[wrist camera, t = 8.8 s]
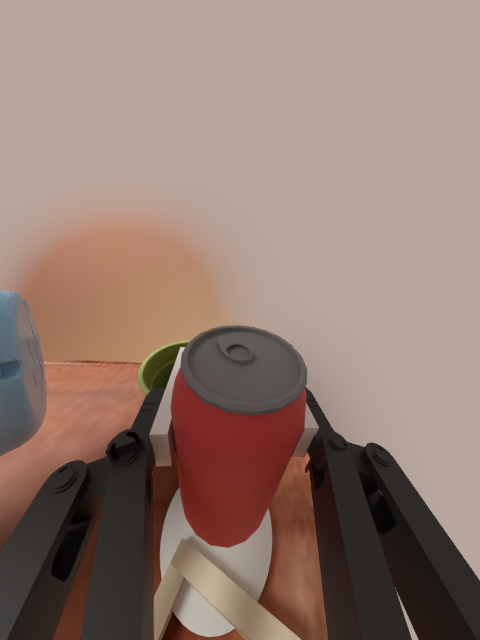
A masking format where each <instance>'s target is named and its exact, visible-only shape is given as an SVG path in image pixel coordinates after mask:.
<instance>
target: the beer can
mask: <svg viewBox="0 0 480 640" xmlns="http://www.w3.org/2000/svg"><path fill="white" fill-rule="evenodd" d="M306 383H307V368H306V366H305V363H304V361H303V358H302V357H301V355H300V354H299V353H298V352H297V351H296V350H295V349H294V348H293V346H292V345H291V344H289V343H288V342H287V341H285V340H284V339H282V338H281V337H279V336H277V335H275V334H272V333H270V332H268V331H265V330H261V329H258V328H254V327H247V326H222V327H217V328H213V329H210V330H208V331H205V332H203V333H200V334H199V335H198V336H196V337H195V338H194V339H192V340H191V341H190V342H188V344H187V346H186V347H185V349H184V350H183V352H182V354H181V365H180V369H179V371H178V373H177V375H176V378H175V382H174V386H173V392H172V400H171V416H172V425H173V434H174V442H175V451H176V460H177V469H178V478H179V486H180V495H181V501H182V505H183V510H184V514H185V518H186V519H187V521H188V523H189V524H190V526H191V528H192V529H193V531H194V533H195V534H196V535H197V536H198V537H200V538H201V539H203V540H204V541H205V542H207V543H208V544H209V545H211V546H218V547H225V548H229V547H232V546H235V545H237V544H240V543H243V542H245V541H246V540H247V539H248V538H249V537H250V536H251V535H252V534H253V533H254V532H255V531H256V530H257V529H258V528H259V527H260V524H261V522H262V520H263V518H264V516H265V514H266V512H267V510H268V508H269V505H270V503H271V501H272V499H273V496H274V494H275V492H276V489H277V487H278V485H279V483H280V480H281V478H282V476H283V474H284V471H285V469H286V467H287V464H288V462H289V460H290V458H291V455H292V453H293V451H294V449H295V446H296V444H297V442H298V439H299V437H300V435H301V433H302V430H303V428H304V426H305V413H306V389H305V386H306Z"/></svg>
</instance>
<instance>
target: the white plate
mask: <svg viewBox="0 0 480 640" xmlns="http://www.w3.org/2000/svg"><path fill="white" fill-rule="evenodd" d="M182 538H183V539H184V540H185V541H187V542H188V543H189V544H190V545H191V546H192V547H194V548H195V549H196V550H197V551H198V552H199V553H201V554H202V555H203V556H204V557H205V558H206V559H208V560H209V561H210V562H211V563H212V564H213V565H215V566H216V567H217V568H218V569H219V570H220V571H222V572H223V573H224V574H225V575H226V576H228V577H229V578H230V579H231V580H232V581H233V582H235V583H236V584H237V585H238V586H239V587H240V588H242V589H243V590H244V591H245V592H246V593H247V594H249V595H250V596H251V597H252V598H253V599H254V600H256V601H258V599H259V597H260V595H261V593H262V590H263V588H264V585H265V582H266V579H267V576H268V572H269V567H270V562H271V553H272V525H271V518H270V513H269V508H268V510H267V512H266V514H265V516H264V518H263V520H262V522H261V524H260V527H259V528H258V529H257V530H256V531H255V532H254V533H253V534H252V535H251V536H250V537H249V538H248V539H247V540H246V541H245V542H243V543H240V544H237V545H235V546H232V547H229V548H225V547H218V546H211V545H209V544H208V543H207V542H205V541H204V540H203V539H201V538H200V537H198V536H197V535H196V534H195V533H194V531H193V529H192V528H191V526H190V524H189V523H188V521H187V519H186V518H185V514H184V510H183V505H182V501H181V495H180V487H179V488H178V490H177V492H176V493H175V495H174V497H173V499H172V501H171V504H170V506H169V508H168V511H167V514H166V518H165V521H164V525H163V530H162V536H161V545H160V569H161V577H162V579H163V577H164V575H165V573H166V570H167V568H168V566H169V564H170V562H171V560H172V558H173V556H174V554H175V552H176V550H177V547H178V545H179V543H180V541H181V539H182ZM173 612H174V614H175V616H176V617H177V618H178V619H179V621H180V622H181V623H182V624H183V625H184V626H185V627H186V628H187V629H188V630H190V631H191V632H193V633H195V634H197V635H199V636H204V637H218V636H221V635H224V634H227V633H228V632H230V631H232V630H233V629H235V627H234V626H233V625H231V624H230V623H229V622H228V621H227V620H226V619H225V618H224V617H223V616H222V615H221V614H220V613H219V612H218V611H217V610H216V609H215V608H214V607H212V606H211V605H210V604H209V603H208V602H207V601H206V600H205V599H204V598H203V597H202V596H201V595H200V594H199V593H198V592H197V591H196V590H195V589H194V588H192V587H191V586H190V585H189V584H188V583H187V582H186V581H185V580H184V583H183V585H182V588H181V590H180V593H179V595H178V597H177V600H176V602H175V605H174V607H173Z"/></svg>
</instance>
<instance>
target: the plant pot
mask: <svg viewBox="0 0 480 640" xmlns="http://www.w3.org/2000/svg"><path fill="white" fill-rule="evenodd" d="M190 341H191V340H190ZM190 341H189V340H188V341H179V342H176V343H172V344H168V345H166V346H163V347H161V348H159V349H158V350H156V351H154V352H153V353H152V354H150V355H149V356H148V357H147V358H146V359H145V360H144V362H143V363H142V365H141V367H140V369H139V372H138V382H139V386H140V388H141V390H142V391H143V392H144V393H145V394H146V395H147V394H148V393H149V392H150V391H151V390H152V389H153V388H166V387H167V384H168V381H169V378H170V375H171V373H172V370H173V367H174V364H175V361H176V359H177V356H178V353H179V350H180V347H186V346H187V344H188V342H190Z"/></svg>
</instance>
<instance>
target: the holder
mask: <svg viewBox="0 0 480 640" xmlns="http://www.w3.org/2000/svg"><path fill="white" fill-rule="evenodd" d="M184 580H185V581H186V582H187V583H188V584H189V585H190V586H191V587H192V588H194V589H195V590H196V591H197V592H198V593H199V594H200V595H201V596H202V597H203V598H204V599H205V600H206V601H207V602H208V603H209V604H210V605H211V606H212V607H214V608H215V609H216V610H217V611H218V612H219V613H220V614H221V615H222V616H223V617H224V618H225V619H226V620H227V621H228V622H229V623H230V624H231V625H233V626H234V627H235V630H236V631H237V632H238V633H239V634H240V635H241V636H242V637H243V638H244V639H245V640H301V639H300V638H299V637H298V636H297V635H295V634H294V633H293V632H292V631H291V630H290V629H288V628H287V627H286V626H285V625H284V624H283V623H281V622H280V621H279V620H278V619H277V618H276V617H274V616H273V615H272V614H271V613H270V612H268V611H267V610H266V609H265V608H264V607H263V606H261V605H260V604H259V603H258V602H257V601H256V600H254V599H253V598H252V597H251V596H250V595H249V594H247V593H246V592H245V591H244V590H243V589H242V588H240V587H239V586H238V585H237V584H236V583H235V582H233V581H232V580H231V579H230V578H229V577H228V576H226V575H225V574H224V573H223V572H222V571H220V570H219V569H218V568H217V567H216V566H215V565H213V564H212V563H211V562H210V561H209V560H208V559H206V558H205V557H204V556H203V555H202V554H201V553H199V552H198V551H197V550H196V549H195V548H194V547H192V546H191V545H190V544H189V543H188V542H187V541H185V540H184V539H183V538H182V539H181V541H180V543H179V545H178V547H177V550H176V552H175V554H174V556H173V558H172V560H171V562H170V564H169V566H168V568H167V570H166V573H165V575H164V577H163V579H162V581H161V583H160V585H159V587H158V589H157V591H156V593H155V596H154V640H162V637H163V635H164V632H165V630H166V627H167V625H168V623H169V620H170V618H171V615H172V613H173V607H174V605H175V602H176V600H177V597H178V595H179V593H180V590H181V588H182V585H183V583H184Z"/></svg>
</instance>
